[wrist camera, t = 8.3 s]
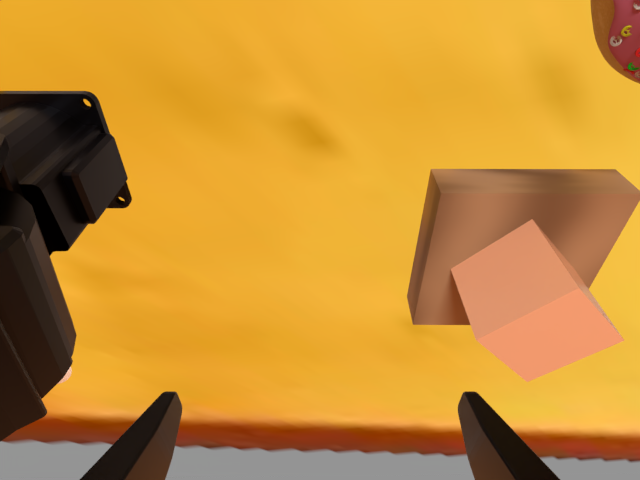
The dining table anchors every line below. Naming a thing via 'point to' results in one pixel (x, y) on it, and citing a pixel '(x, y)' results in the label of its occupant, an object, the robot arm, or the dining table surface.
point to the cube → (531, 304)
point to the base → (511, 225)
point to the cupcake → (618, 34)
